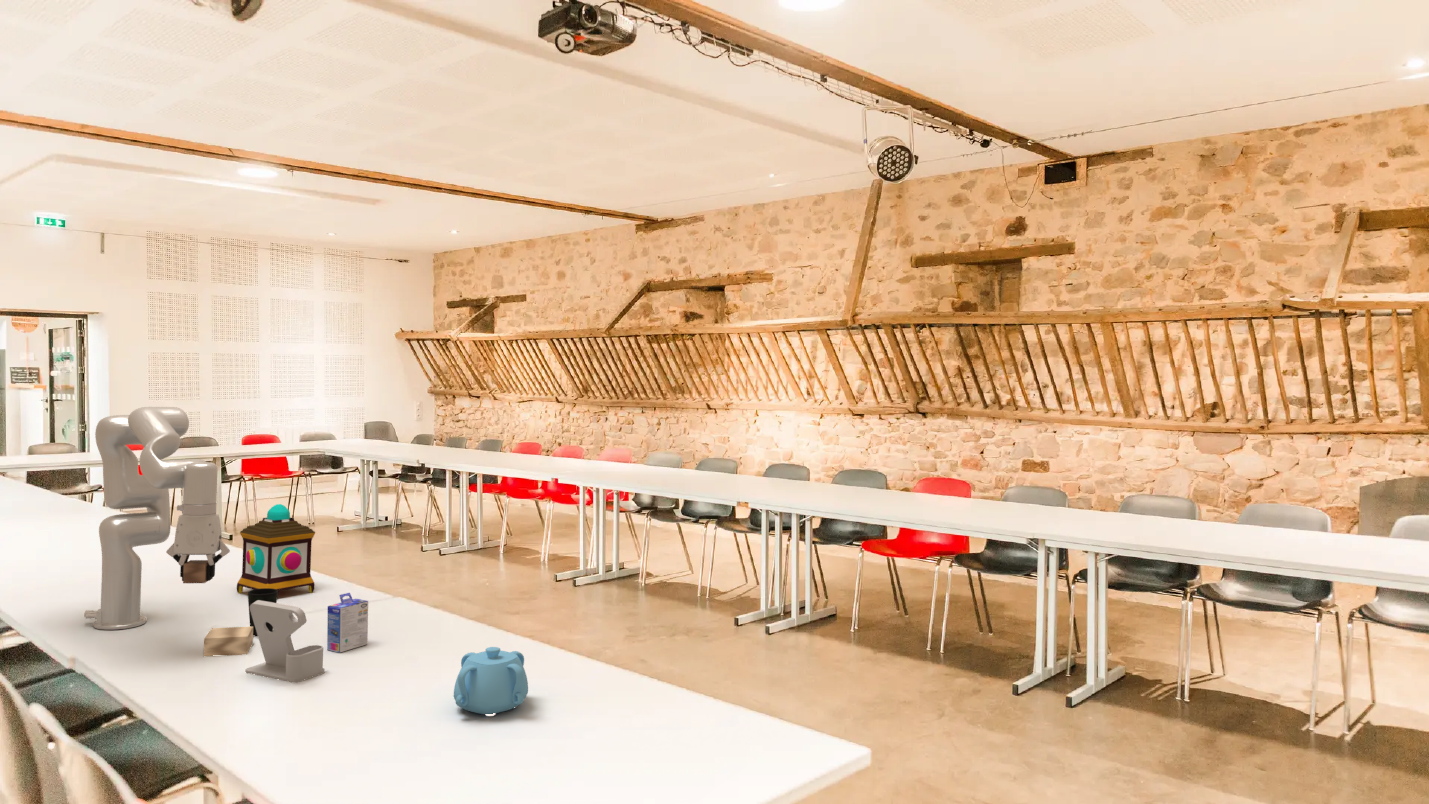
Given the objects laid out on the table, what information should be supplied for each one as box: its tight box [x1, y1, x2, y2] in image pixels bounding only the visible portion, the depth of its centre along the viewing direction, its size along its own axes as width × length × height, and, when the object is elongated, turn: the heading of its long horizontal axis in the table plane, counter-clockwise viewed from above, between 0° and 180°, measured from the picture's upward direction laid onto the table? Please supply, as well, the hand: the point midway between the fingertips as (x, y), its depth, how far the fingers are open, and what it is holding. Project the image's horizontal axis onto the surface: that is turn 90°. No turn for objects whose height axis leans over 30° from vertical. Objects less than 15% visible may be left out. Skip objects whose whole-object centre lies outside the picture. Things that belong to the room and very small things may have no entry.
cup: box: [247, 588, 279, 637], centre depth 252 cm, size 8×8×12 cm
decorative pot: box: [453, 646, 529, 715], centre depth 203 cm, size 16×16×14 cm
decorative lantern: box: [236, 503, 316, 594], centre depth 299 cm, size 20×20×30 cm
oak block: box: [203, 626, 254, 657], centre depth 236 cm, size 10×10×5 cm
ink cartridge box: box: [326, 592, 369, 653], centre depth 243 cm, size 10×6×14 cm, turn 155°
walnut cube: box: [182, 559, 208, 584], centre depth 231 cm, size 5×5×5 cm
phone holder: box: [244, 600, 326, 683], centre depth 221 cm, size 17×10×18 cm, turn 69°
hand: (197, 579), depth 232 cm, fingers closed on walnut cube, 5 cm apart
